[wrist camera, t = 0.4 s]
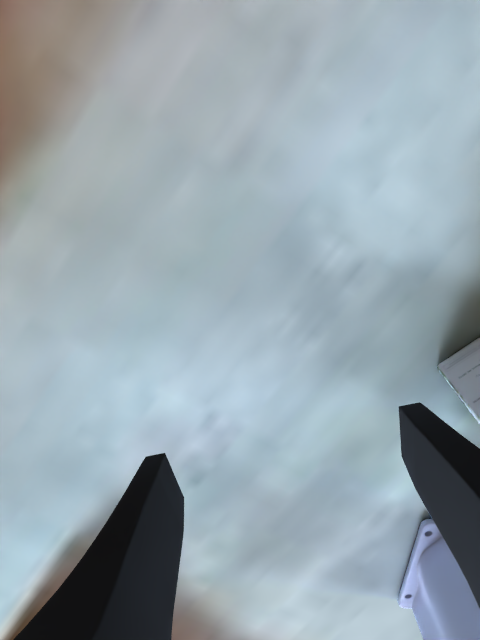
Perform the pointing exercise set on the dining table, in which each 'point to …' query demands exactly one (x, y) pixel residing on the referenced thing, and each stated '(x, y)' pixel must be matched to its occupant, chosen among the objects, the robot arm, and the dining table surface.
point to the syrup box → (465, 376)
